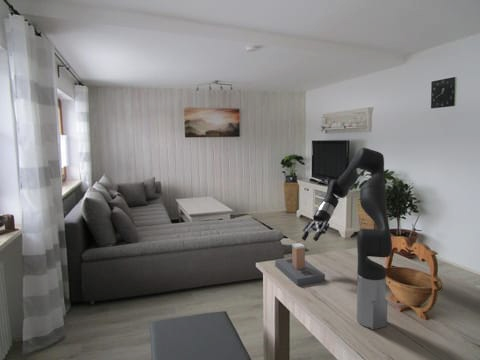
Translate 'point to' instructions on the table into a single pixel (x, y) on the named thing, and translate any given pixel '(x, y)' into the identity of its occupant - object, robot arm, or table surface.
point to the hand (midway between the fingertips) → (308, 239)
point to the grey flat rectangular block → (300, 272)
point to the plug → (298, 256)
